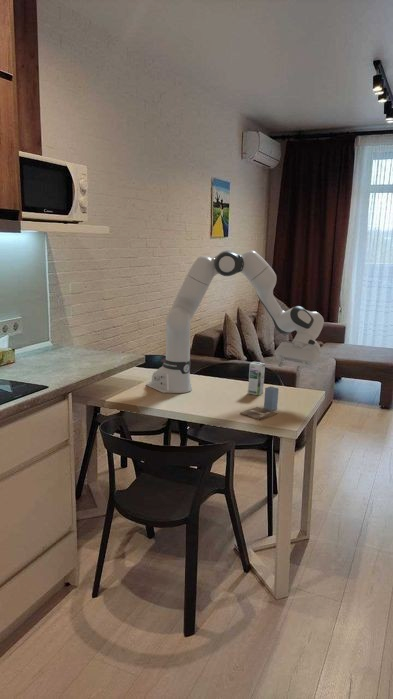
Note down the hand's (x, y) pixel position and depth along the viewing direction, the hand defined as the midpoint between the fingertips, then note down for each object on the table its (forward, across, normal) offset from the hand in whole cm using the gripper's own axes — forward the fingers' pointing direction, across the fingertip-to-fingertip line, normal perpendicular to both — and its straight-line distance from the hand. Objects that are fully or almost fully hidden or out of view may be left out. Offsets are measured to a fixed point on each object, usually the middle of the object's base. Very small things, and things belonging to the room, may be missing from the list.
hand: (288, 368), depth 231 cm
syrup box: (+10, -18, +13) cm, 24 cm away
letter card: (+27, +1, -5) cm, 27 cm away
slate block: (+20, 0, +2) cm, 20 cm away
